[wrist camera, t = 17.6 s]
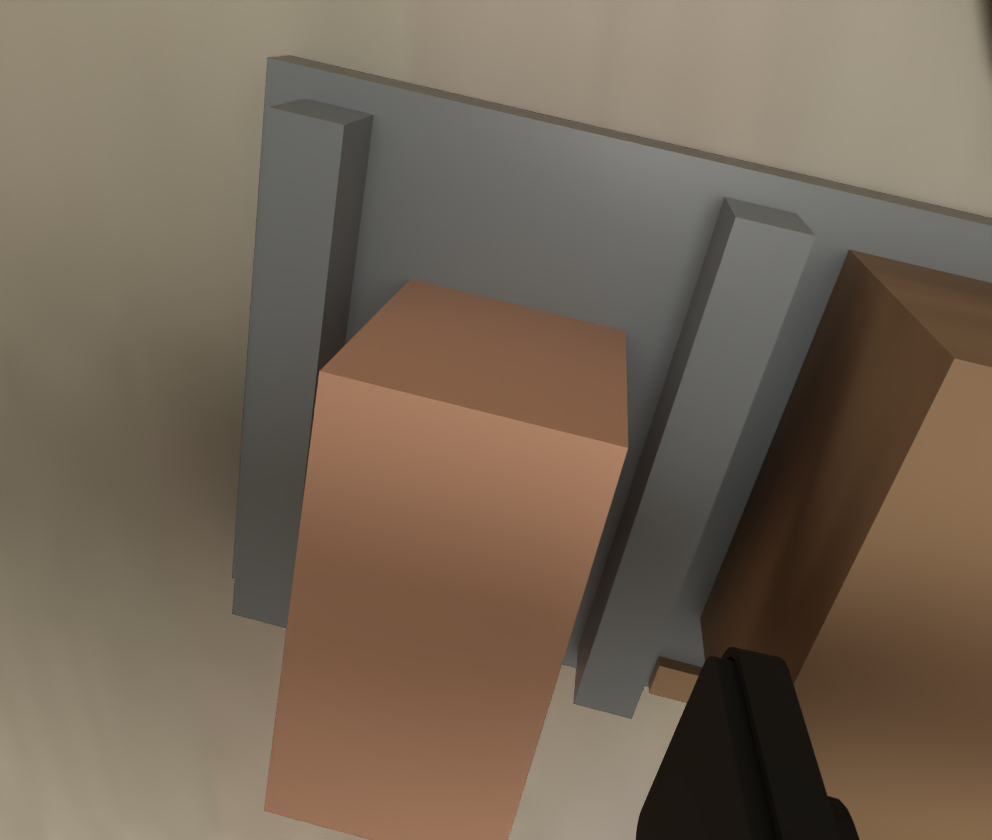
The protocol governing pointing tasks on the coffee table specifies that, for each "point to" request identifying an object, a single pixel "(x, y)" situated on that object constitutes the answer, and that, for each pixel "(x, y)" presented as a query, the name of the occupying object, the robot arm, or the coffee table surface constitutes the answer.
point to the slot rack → (564, 291)
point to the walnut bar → (881, 551)
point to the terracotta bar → (442, 561)
